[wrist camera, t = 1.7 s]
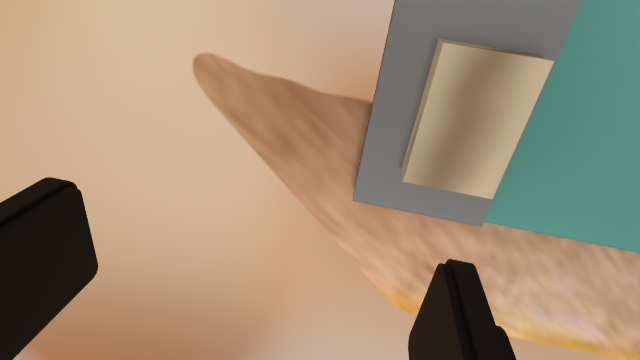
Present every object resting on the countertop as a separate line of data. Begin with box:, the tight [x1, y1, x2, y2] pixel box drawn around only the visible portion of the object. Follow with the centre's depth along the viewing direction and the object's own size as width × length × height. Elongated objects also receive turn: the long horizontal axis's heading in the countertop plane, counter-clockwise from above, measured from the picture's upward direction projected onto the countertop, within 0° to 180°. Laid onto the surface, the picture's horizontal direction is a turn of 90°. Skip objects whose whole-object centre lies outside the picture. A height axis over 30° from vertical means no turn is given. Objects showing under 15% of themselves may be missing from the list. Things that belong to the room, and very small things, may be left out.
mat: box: [484, 0, 640, 253], centre depth 23 cm, size 13×18×1 cm
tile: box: [402, 39, 554, 199], centre depth 22 cm, size 6×9×2 cm, turn 172°
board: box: [353, 0, 583, 226], centre depth 24 cm, size 10×18×2 cm, turn 172°
